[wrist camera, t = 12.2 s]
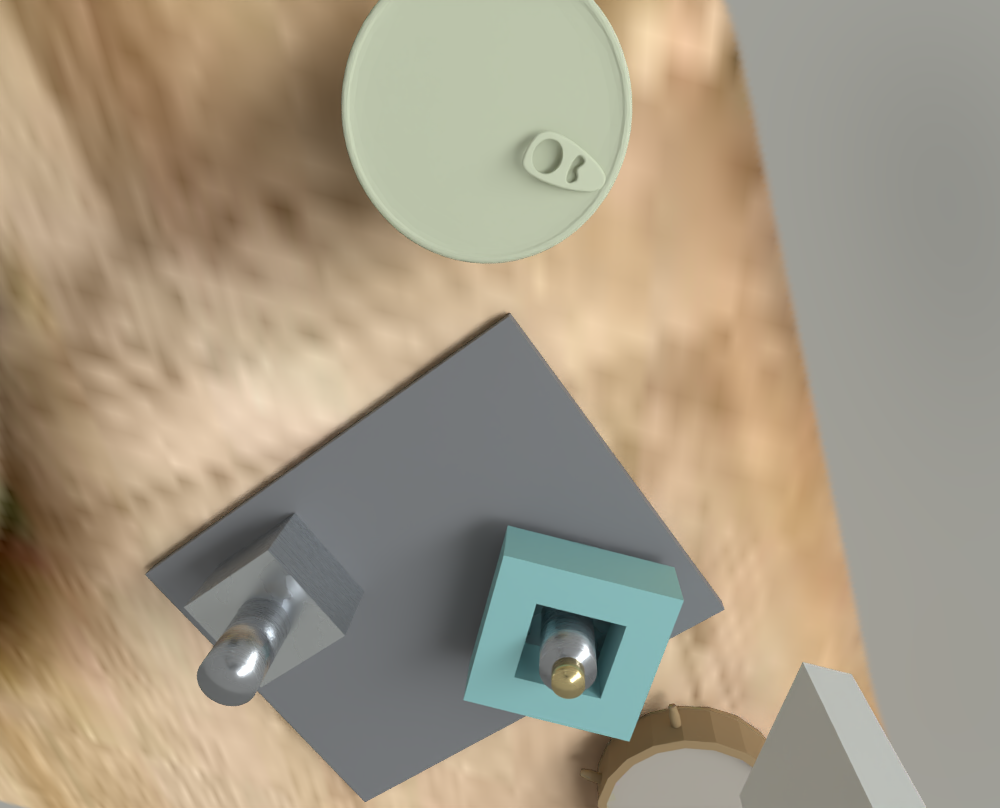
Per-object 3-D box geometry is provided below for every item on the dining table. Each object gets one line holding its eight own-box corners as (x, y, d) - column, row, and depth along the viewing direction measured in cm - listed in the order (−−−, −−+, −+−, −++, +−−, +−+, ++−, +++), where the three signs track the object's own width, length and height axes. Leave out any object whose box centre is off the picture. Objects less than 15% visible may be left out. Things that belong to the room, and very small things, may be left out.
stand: (217, 566, 42) (136, 665, 33) (295, 512, 40) (229, 603, 32) (287, 640, 43) (224, 752, 35) (364, 591, 41) (317, 697, 33)
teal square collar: (469, 662, 41) (463, 700, 38) (507, 525, 38) (503, 555, 35) (624, 701, 41) (629, 741, 38) (674, 567, 38) (683, 600, 35)
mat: (152, 567, 43) (145, 574, 42) (510, 313, 36) (509, 316, 36) (368, 791, 47) (365, 802, 46) (721, 601, 41) (724, 609, 40)
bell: (466, 587, 41) (450, 664, 35) (585, 514, 39) (591, 583, 33) (549, 686, 42) (547, 776, 36) (667, 622, 40) (687, 705, 34)
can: (547, 265, 35) (543, 317, 24) (376, 172, 35) (289, 182, 23) (648, 80, 32) (696, 42, 21) (463, -26, 32) (411, -124, 20)
